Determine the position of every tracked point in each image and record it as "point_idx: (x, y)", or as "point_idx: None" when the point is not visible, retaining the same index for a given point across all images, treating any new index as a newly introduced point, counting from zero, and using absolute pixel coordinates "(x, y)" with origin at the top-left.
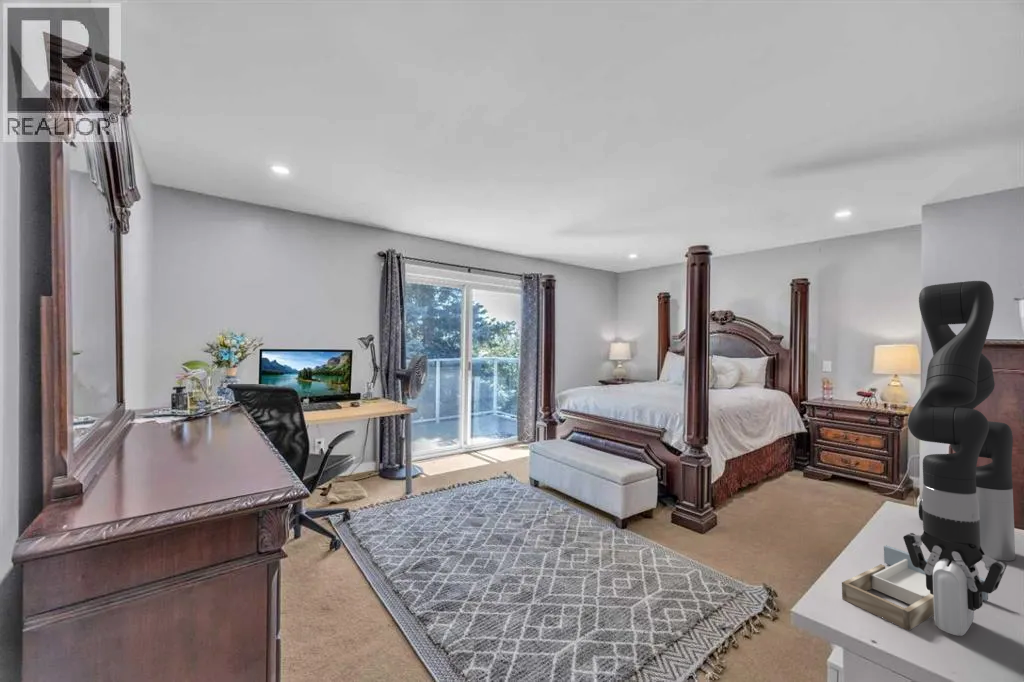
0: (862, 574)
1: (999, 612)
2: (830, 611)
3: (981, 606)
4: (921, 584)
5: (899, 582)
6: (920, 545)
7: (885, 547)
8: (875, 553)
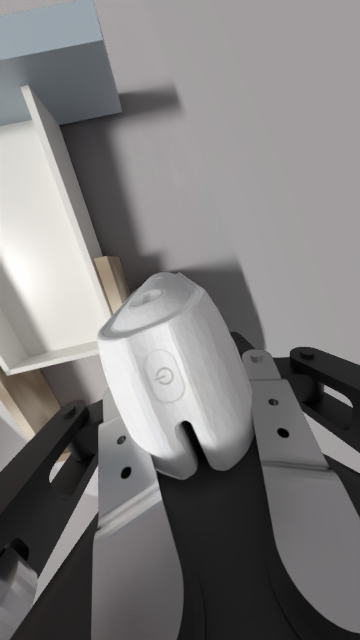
0: (7, 401)
1: (165, 145)
2: (97, 467)
3: (235, 333)
4: (31, 231)
5: (18, 285)
6: (27, 577)
7: None
8: None
